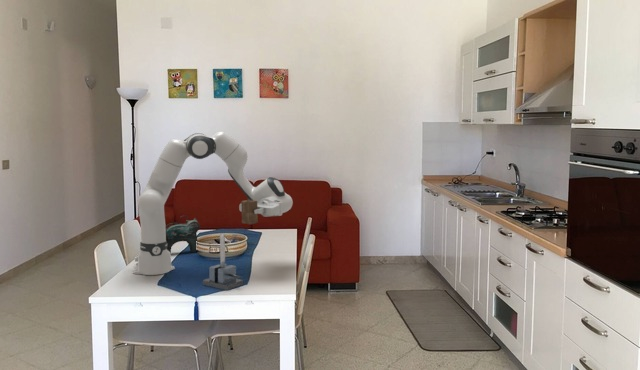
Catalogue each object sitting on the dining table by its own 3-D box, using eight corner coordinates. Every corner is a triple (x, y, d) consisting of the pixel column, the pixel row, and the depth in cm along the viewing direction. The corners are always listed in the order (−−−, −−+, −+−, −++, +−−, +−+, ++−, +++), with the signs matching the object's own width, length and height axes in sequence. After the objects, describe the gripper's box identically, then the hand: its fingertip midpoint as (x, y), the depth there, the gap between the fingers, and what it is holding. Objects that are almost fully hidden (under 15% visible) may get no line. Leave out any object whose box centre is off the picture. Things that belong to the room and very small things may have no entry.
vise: (202, 284, 243) (202, 234, 241) (219, 279, 252) (218, 230, 249) (232, 291, 234) (231, 239, 231) (248, 285, 242) (247, 235, 240)
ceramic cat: (197, 249, 306) (197, 213, 304) (201, 252, 301) (201, 215, 298) (161, 254, 295) (160, 216, 293) (164, 257, 290) (164, 218, 288)
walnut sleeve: (241, 223, 253) (241, 201, 252) (249, 221, 257) (248, 199, 256) (250, 224, 250) (250, 202, 249) (257, 222, 254) (257, 200, 253)
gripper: (250, 198, 269) (230, 202, 258) (284, 202, 258) (265, 206, 246) (250, 211, 270) (230, 215, 258) (285, 215, 259) (266, 220, 247)
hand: (248, 211), depth 252 cm, fingers closed on walnut sleeve, 5 cm apart
